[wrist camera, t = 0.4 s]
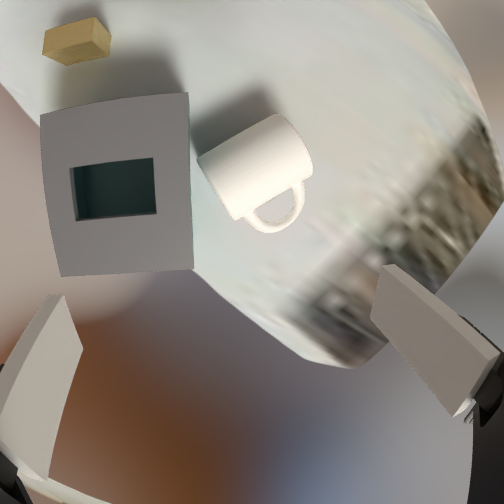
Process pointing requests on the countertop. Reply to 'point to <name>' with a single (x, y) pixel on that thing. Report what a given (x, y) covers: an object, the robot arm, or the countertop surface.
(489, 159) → the countertop surface
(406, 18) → the countertop surface
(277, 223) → the mug
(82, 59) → the gold block
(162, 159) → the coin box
